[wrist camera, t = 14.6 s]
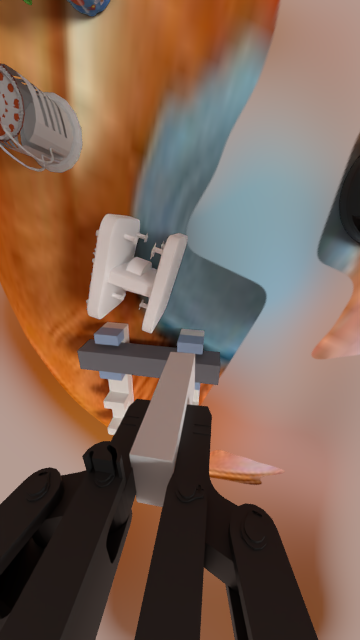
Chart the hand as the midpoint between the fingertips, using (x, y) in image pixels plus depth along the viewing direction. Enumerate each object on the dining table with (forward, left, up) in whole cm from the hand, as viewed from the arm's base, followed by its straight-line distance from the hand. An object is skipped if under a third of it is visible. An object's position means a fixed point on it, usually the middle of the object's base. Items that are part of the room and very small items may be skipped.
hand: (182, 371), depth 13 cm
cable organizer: (+10, -1, -28) cm, 29 cm away
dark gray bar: (+9, +15, -25) cm, 31 cm away
